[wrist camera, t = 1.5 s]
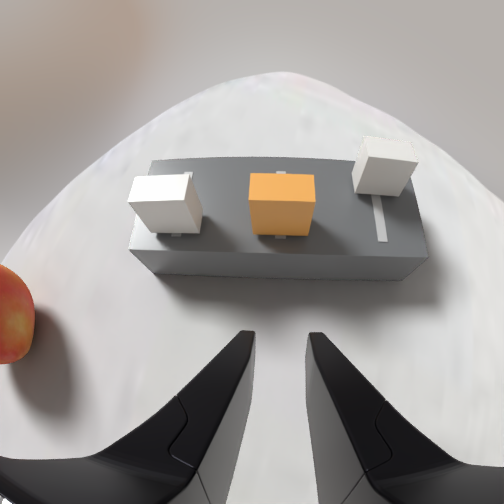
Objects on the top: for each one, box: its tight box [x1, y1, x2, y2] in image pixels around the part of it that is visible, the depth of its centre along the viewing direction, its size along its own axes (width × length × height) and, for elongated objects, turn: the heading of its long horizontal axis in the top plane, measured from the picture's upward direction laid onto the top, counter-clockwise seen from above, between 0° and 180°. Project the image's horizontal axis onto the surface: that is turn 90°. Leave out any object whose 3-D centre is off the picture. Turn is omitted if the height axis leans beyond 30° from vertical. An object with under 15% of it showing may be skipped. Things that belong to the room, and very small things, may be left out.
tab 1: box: [128, 174, 203, 233], centre depth 18 cm, size 2×4×4 cm, turn 87°
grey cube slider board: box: [128, 157, 428, 280], centre depth 23 cm, size 8×21×5 cm, turn 87°
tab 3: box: [352, 136, 418, 197], centre depth 18 cm, size 2×4×4 cm, turn 87°
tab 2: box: [249, 173, 316, 236], centre depth 18 cm, size 2×4×4 cm, turn 86°
